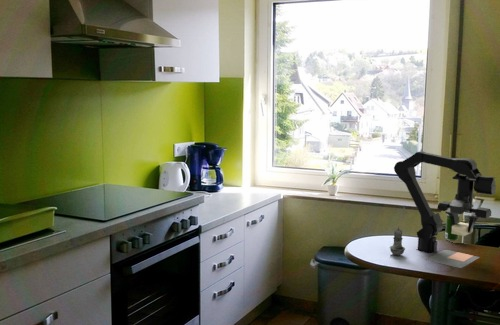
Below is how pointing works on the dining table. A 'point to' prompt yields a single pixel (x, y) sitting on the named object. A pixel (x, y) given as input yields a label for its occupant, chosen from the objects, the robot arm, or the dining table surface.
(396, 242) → the grey tower figurine
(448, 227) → the beer can
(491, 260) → the dining table surface
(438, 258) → the mat
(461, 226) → the cream block
